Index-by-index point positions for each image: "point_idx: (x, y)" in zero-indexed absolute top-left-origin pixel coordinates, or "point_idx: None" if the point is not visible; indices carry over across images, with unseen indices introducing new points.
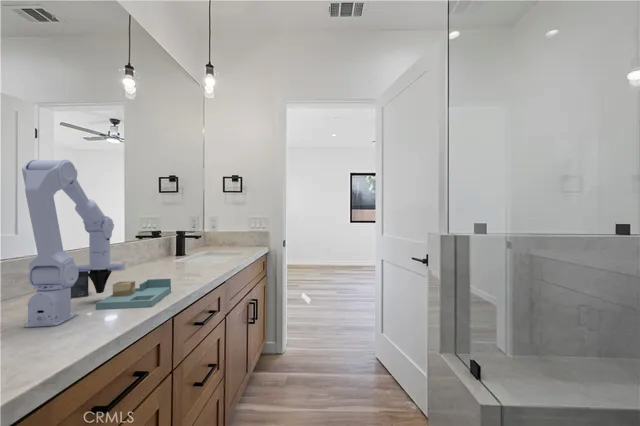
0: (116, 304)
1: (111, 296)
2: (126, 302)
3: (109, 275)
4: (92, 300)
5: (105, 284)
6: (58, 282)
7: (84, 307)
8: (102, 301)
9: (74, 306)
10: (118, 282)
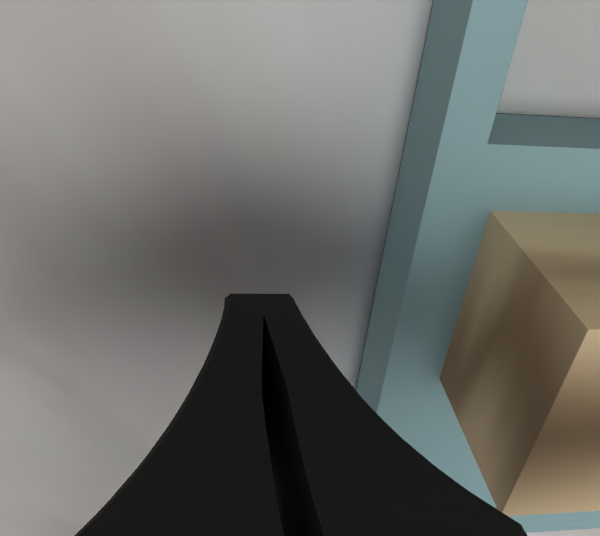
0: None
1: (421, 366)
2: (584, 522)
3: (450, 480)
4: (99, 166)
5: (331, 365)
6: None
7: None
8: None
9: (60, 389)
10: (572, 403)
